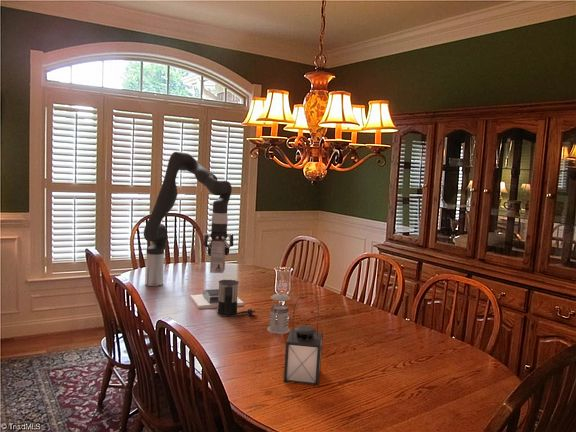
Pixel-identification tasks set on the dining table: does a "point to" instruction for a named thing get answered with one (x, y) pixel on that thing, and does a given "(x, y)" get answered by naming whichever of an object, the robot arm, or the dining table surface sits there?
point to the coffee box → (217, 256)
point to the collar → (209, 293)
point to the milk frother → (229, 298)
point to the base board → (203, 303)
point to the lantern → (303, 354)
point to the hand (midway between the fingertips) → (218, 255)
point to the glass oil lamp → (279, 314)
